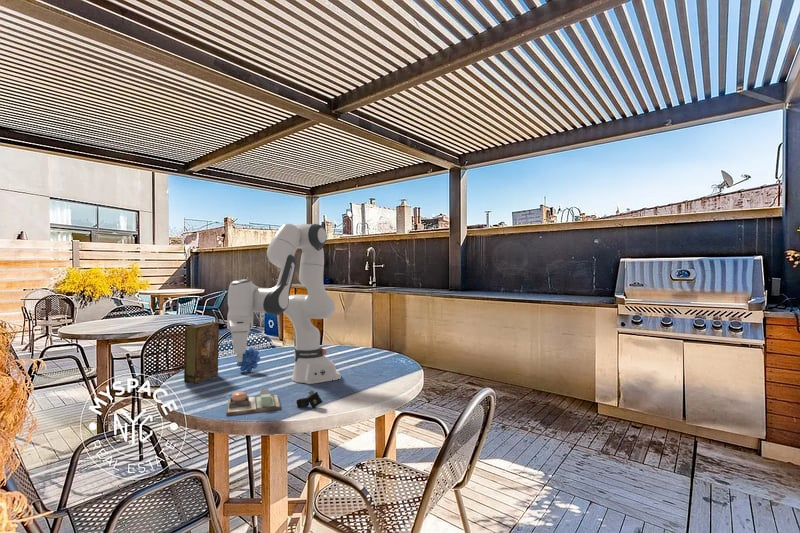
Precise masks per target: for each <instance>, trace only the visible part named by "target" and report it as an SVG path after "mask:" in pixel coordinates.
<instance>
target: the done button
mask: <svg viewBox="0 0 800 533" xmlns="http://www.w3.org/2000/svg"><path fill="white" fill-rule="evenodd" d="M247 396H248V392H246V391H235V392H233V393H231V397H232V402H241V401H246V400H247Z"/></svg>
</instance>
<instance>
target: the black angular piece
mask: <svg viewBox="0 0 800 533" xmlns="http://www.w3.org/2000/svg"><path fill="white" fill-rule="evenodd" d="M308 394H309V395H307V397H304V398H299V399H297V400H295V401H296V406H297V409H298V408H301V409H302V408H303V409H304V408H306V407H307V408H308V406H309V405H310V406H311V408H312V409H314V408H316V407H317V406H319V405H321V404H322V403H323V401H324V400H322V399H321V397H320V395H319V393H318V391H314V390H310V391H309V392H308Z"/></svg>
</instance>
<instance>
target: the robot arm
mask: <svg viewBox="0 0 800 533" xmlns="http://www.w3.org/2000/svg"><path fill="white" fill-rule="evenodd" d="M327 234H328V232H327V230H326V229H325V227H324V226H323V225H321V224H319V223H302V224H296V225H295V224H293V223H292V224H291V223H284V224H282V225H281V226H280V227H279V228H278V230H277V231H276V233H275V234H274V236H273V237H272V239H271V240H270V243H269V245H268V246H267V250H266V255H267V258H268V260H269V262H271V264H273V265H274V266H275V267H276V268H279V269H280V272H279V275H278V278H277V283H276V284H275V286H273V287H271V288H270V287H260V286H258V285H256V284H254V283H253V281H252V280H251V279H248V278H245V279H244V278H240V279H236V280H233V281H231V282H230V284H229V286H228V291H227V307H228V311H227V317H226V318H227V324H226V326H227V328H226V329H227V330H228V331H229V332H230V333H231V337H232V349H233V353H234V355H236V359H237V360H236V363H237V362H242V359H243V353H245V351H246V349H247V344H248V342H247V341H248V337H249V333H250V332H251V330H252V329H253V328H254V313H259V314H260V313H261V314H269V315H274V316H275V315H276V316H279V315H281V314H284V315H285V316H286V317H287V318H288V319H289V320H290V322H291V324H292V326H293V329H294V333H295V335H294V336H295V348H294V352H293V353H294V354H293V357H294V358H293V359H294V360H293V361H294V368H293V371H292V376H291V381H292V382H295V383H302V384H303V383H304V384H307V385H312V384H319V383H326V382H331V381H332V380H333V381H338V379H339V380H341V378H342V375H341V373H340V372H339V371H337V367H336V364H335V363H334V362H333V361H332V360H331V359H330V358H328V357H327V356H326V354H327V350H326V349H324V348H323V347H321V332H320V330H319V328H317V326H315V325H314V324H313V323H312V321H311V319H312V320H313V319H314V320H323V319H328V318H329V319H330V318H331V317H332V316H333V314H334V312H335V309H336V305H335V301H334V300H333V298H332V297H331V296H330V295H329V294H328V293H327V290H326V289H325V285H324V271H325V270H324V269H325V268H324V267H325V252H324V246H325V244H326V242H327V238H328V235H327ZM299 249H301V251H302V252H301V257H300V263H299V270H298V271H299V273H298V282H299V283H300V284H301V285H302V286H303V287H305V288H306V290H307V294H292V295H290V293H291V289H292V285H293V283H294V282H293V281H294V279H295V276H296V275H295V274H296V270H297V265H298V264H297V259H296V257H295V255H296V252H297V250H299Z"/></svg>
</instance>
